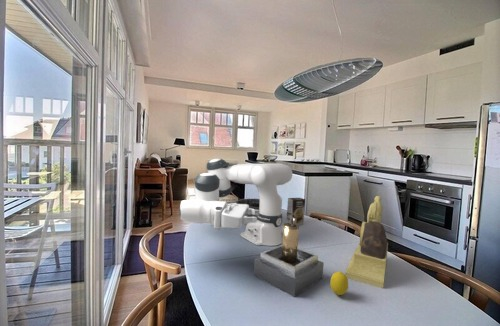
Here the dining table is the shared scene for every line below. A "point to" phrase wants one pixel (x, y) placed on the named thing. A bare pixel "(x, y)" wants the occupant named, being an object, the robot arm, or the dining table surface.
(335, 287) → the lemon
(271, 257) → the housing
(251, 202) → the bundt pan
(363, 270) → the decorative clock
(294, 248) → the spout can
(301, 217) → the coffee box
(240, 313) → the dining table surface
